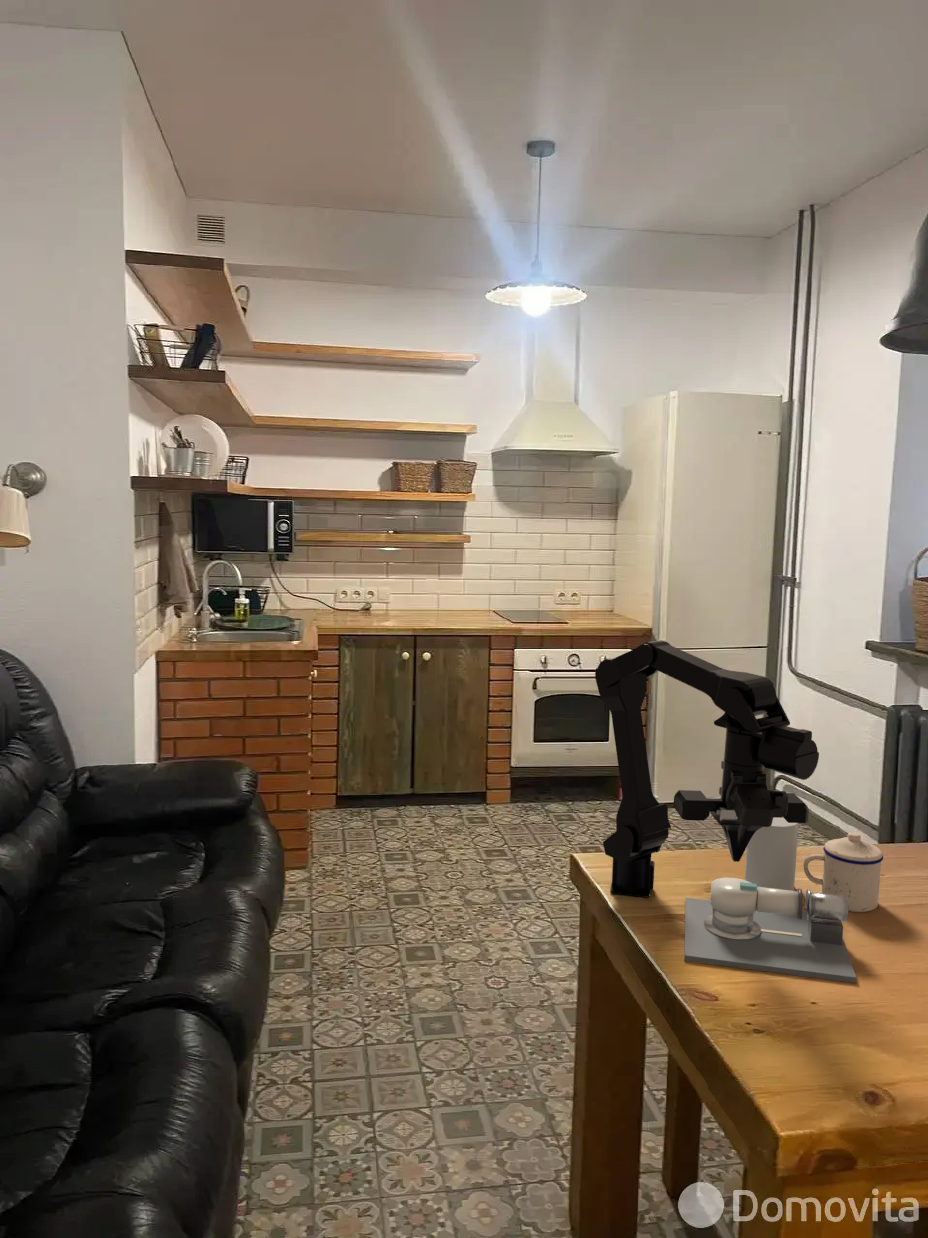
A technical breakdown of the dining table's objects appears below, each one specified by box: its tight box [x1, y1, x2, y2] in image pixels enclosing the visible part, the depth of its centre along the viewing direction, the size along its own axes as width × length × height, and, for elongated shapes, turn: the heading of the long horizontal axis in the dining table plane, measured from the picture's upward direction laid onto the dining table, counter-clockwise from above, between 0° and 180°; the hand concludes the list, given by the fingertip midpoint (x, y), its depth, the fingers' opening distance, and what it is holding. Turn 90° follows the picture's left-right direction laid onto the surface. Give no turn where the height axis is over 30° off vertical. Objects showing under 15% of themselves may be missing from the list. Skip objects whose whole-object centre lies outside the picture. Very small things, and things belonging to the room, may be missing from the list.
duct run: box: [804, 889, 849, 945], centre depth 137 cm, size 6×4×7 cm
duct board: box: [683, 897, 858, 984], centre depth 139 cm, size 23×20×1 cm
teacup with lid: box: [803, 831, 884, 913], centre depth 153 cm, size 12×9×12 cm
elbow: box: [709, 877, 804, 920], centre depth 140 cm, size 13×7×4 cm, turn 75°
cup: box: [744, 817, 800, 891], centre depth 158 cm, size 8×8×12 cm
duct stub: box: [704, 908, 761, 940], centre depth 141 cm, size 8×8×3 cm
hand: (735, 860), depth 139 cm, fingers closed
